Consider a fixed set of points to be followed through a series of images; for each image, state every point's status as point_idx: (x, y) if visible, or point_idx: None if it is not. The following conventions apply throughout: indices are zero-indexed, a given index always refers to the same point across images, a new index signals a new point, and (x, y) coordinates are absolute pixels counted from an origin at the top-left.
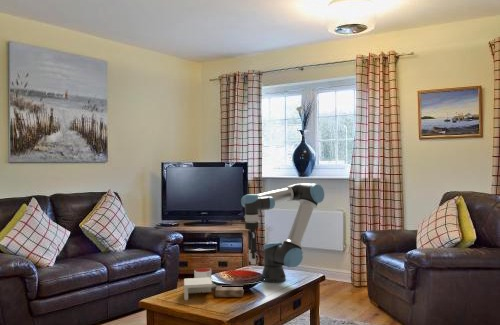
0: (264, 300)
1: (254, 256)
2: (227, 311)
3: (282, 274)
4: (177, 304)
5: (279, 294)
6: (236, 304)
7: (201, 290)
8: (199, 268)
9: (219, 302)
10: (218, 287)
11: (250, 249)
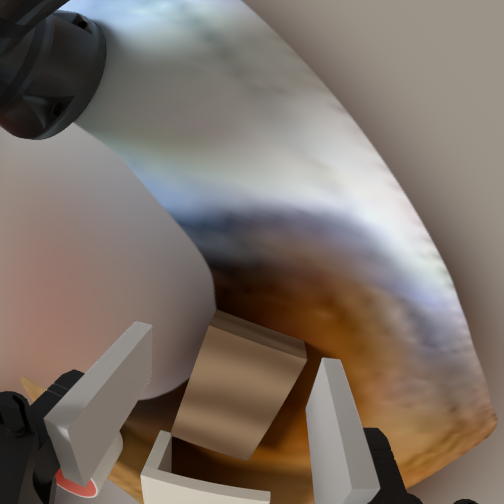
0: (415, 252)
1: (389, 457)
2: (446, 424)
3: (71, 21)
4: None
5: (346, 124)
6: (400, 390)
7: (169, 464)
8: None
9: None
10: (203, 440)
11: (54, 462)
